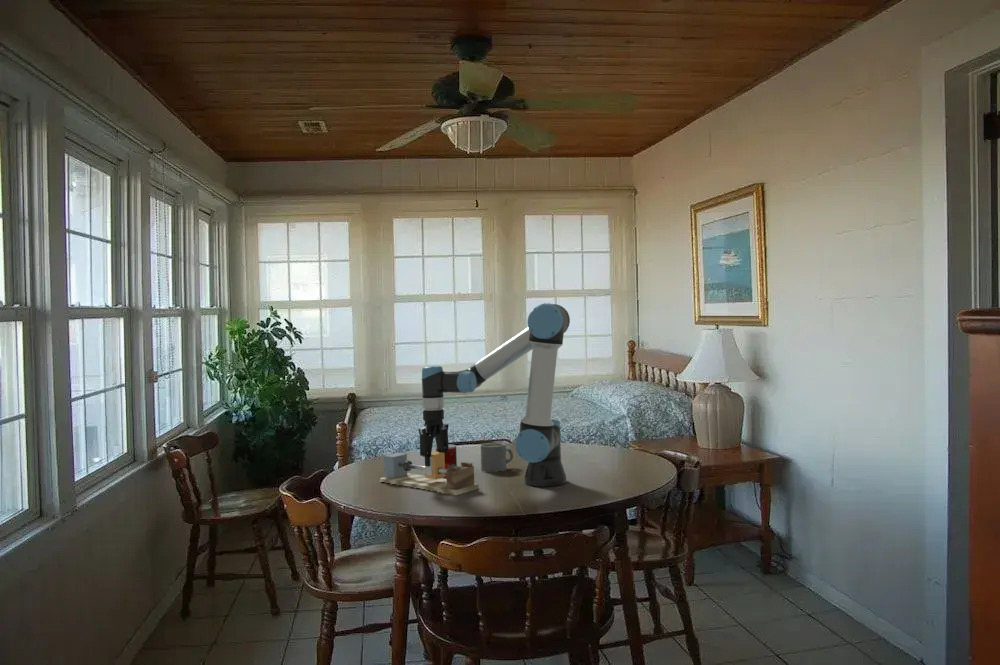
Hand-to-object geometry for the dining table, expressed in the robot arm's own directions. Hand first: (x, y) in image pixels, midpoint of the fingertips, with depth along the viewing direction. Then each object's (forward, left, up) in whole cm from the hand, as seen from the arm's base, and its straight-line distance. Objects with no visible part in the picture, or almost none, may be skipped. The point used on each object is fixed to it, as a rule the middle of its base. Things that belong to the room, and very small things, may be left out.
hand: (435, 473), depth 255 cm
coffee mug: (-1, -35, -5) cm, 35 cm away
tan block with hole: (0, 0, -1) cm, 1 cm away
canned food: (+11, -18, -5) cm, 22 cm away
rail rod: (+4, 0, -1) cm, 4 cm away
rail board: (+4, 0, -5) cm, 6 cm away
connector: (+20, 0, -3) cm, 21 cm away
